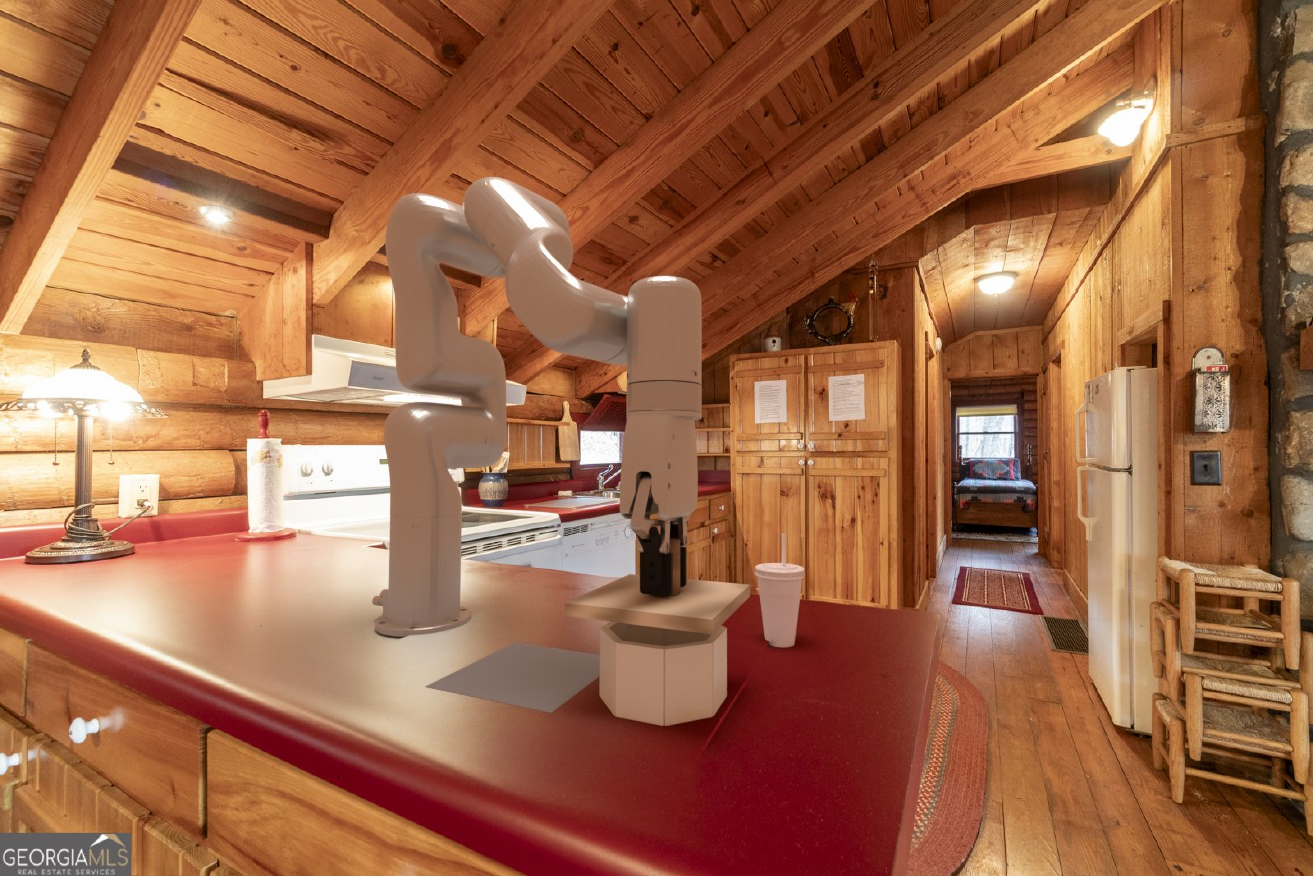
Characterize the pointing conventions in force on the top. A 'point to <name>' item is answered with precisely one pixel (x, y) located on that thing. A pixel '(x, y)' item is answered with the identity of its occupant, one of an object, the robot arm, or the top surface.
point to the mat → (525, 676)
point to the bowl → (662, 673)
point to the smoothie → (780, 599)
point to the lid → (663, 602)
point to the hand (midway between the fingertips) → (663, 588)
